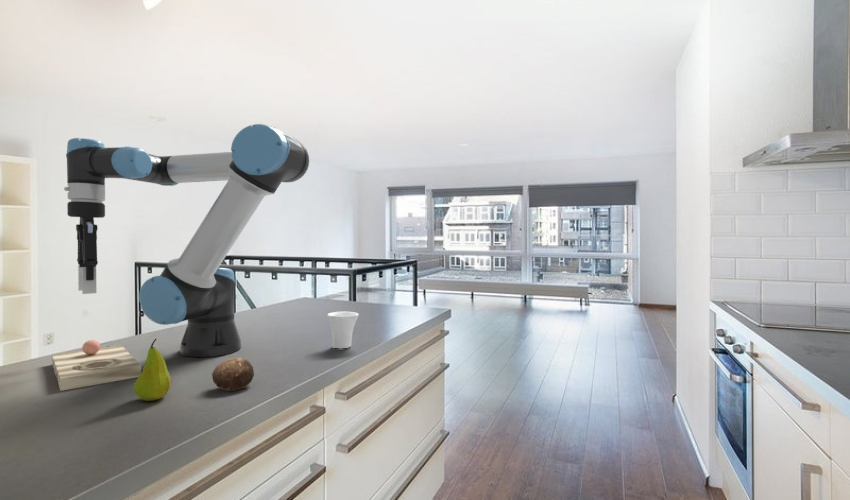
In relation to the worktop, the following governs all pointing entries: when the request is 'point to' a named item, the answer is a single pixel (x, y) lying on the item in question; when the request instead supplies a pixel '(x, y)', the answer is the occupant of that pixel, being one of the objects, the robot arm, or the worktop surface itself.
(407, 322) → the worktop surface
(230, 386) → the brown potato
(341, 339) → the cup
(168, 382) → the fruit
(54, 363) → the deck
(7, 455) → the worktop surface
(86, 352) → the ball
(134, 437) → the worktop surface
